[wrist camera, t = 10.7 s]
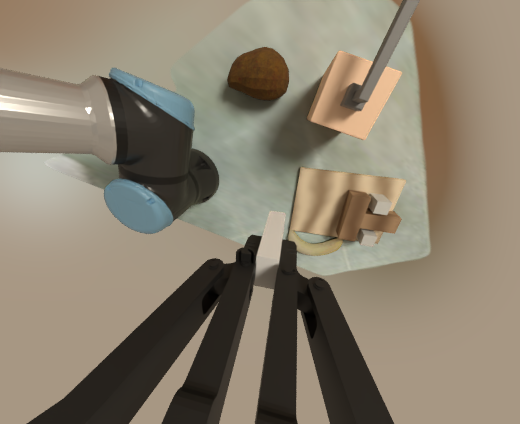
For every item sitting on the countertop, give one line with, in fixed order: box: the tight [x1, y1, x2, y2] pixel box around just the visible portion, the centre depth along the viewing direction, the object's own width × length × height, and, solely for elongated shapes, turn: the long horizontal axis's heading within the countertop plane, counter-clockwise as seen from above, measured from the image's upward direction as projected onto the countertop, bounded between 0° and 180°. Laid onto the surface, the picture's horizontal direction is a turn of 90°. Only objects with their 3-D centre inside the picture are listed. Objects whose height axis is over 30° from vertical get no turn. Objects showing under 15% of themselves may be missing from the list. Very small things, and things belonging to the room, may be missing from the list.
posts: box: [357, 193, 392, 247], centre depth 46 cm, size 3×12×5 cm, turn 176°
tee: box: [336, 190, 402, 241], centre depth 47 cm, size 12×12×4 cm
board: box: [290, 167, 406, 244], centre depth 49 cm, size 24×18×1 cm
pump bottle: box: [307, 0, 419, 140], centre depth 30 cm, size 13×9×22 cm
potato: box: [227, 47, 289, 100], centre depth 36 cm, size 8×12×9 cm
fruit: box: [288, 229, 343, 256], centre depth 55 cm, size 7×15×3 cm, turn 86°
